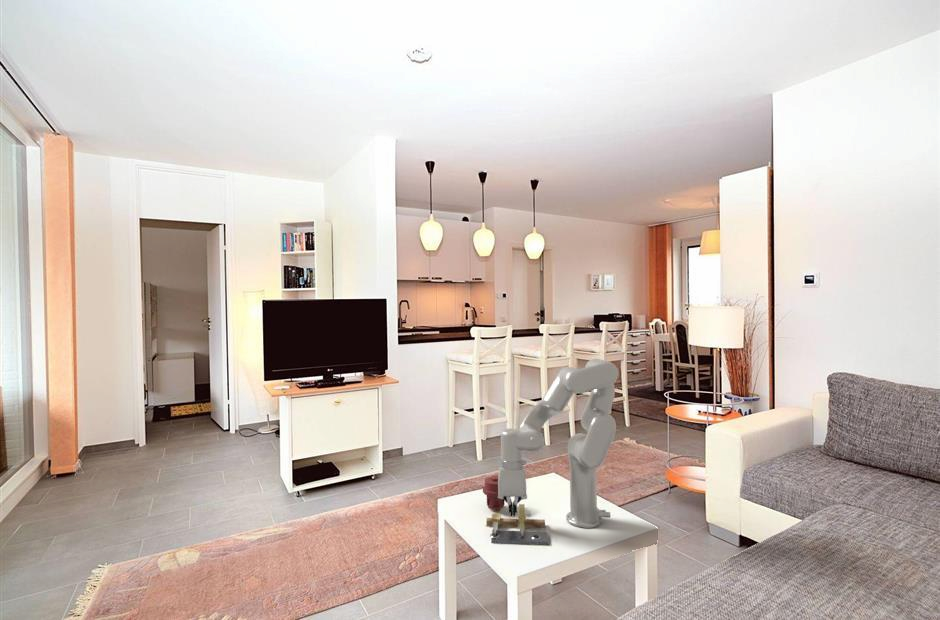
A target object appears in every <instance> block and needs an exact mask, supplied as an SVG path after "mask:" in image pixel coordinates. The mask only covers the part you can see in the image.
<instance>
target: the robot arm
mask: <svg viewBox="0 0 940 620" xmlns="http://www.w3.org/2000/svg"><path fill="white" fill-rule="evenodd" d="M618 378H619V369H618V367H617V366H616V364H614V363H612V362H611V361H607V360H604V359H599V358H593V359H589V360H588V361H587V362H586V364H585V367H583V368H578V369H577V368H575V367H571V366H570V367H569V366H566V367H563V368H562V369H560V370H559V372H558V374H556V376H555V378H554V379H553V382H552V383H551V385H550V386H549V387H548V389H547V390H546V393H545V394H544V395H543V397H542V399H541V400H539V402H537V403H536V405H535V406H534V407H533V408H532V409H530V411H529V412H528V414H527V415H526V416H525V418H524V419H523V421H522V423H520V427H519V429H517V428H505V429H503V430H502V431H501V432H500V457H501V458H500V459H501V461H500V464H501V465H499V468H498V475H497V476H498V498H500V499H504V502H506V503H507V505H508V513H509V514H510V517H516V514H517V513H518V505H519V504H520V502H521V501H523V500H527V499H528V494H527V479H526V477H527V475H526V470H525V466H526V465H527V460H524V459H523V452H522V451H525V452H538V451H540V450H542V449H543V447H544V446H545V438H544V435H543V434H542V433H541V432H540V431H541V429H542V428H543V427H544V426H545V424H546V422H547V421H549V420H550V419H551V418H552V417H556V416H558V415H560V414H561V413H563V411H564V410H565V408H566V407H567V405H568V403H569V402H570V401H571V399H572V397H573V395H574V394H584V393H588V392H590V395H589V397H588V399H587V402H586V405H585V407H584V410H583V412H582V415H581V418H580V425H581V426H582V428H583V429H584V430H585V431H586V432H587V433H586V434H585V433H581V432H580V433H579V432H578V433H576V434H573V435H572V436H571V437H570V438H569V439H568V441H567V454H568V455H567V456H568V463H569V464H568V465H569V491H570V492H569V494H570V495H569V497H570V498H569V499H570V500H569V501H570V504H569V505H570V511H569V512H567V514H566V516H565V517H566V518H565V519H566V521H567V522H568V523H569V524H570V525H572V526H575V527H578V528H584V529H585V528H586V529H592V528H596V527H598V526H600V525H601V524H602V518H607V519H608V518H609V519H610V518H612V517H611V516H612V515H611V512H610V511H606V510H607V509H599V508H598V502H597V501H598V500H597V499H598V497H597V496H598V493H597V468H599V467H600V466H601V465H603V464H604V462H605V460H606V458H607V455H608V453H609V451H610V448H611V446H612V444H613V441H614V438H615V436H616V431H617V423H616V420H615V418H614V417H613V416H612V415H611V414H610V412H611V409H612V406H613V403H614V400H615V397H616V396H615V395H616V390H615V389H616V388H615V383H616V381H617V380H618ZM511 497H514V499H513V501H512V498H511Z"/></svg>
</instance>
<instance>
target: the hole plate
mask: <svg viewBox="0 0 940 620" xmlns="http://www.w3.org/2000/svg"><path fill="white" fill-rule="evenodd" d="M489 537H491V540H490V541H491V544H508V545H509V544H515V545H535V546H536V545H537V546H538V545H539V546H550V545H549V535H548V531H532V530H531V531H527V530H526V531H525V530H524V534H523V537H522V536H521V534H520V530H503V529H502V530H501V529H500V530H499V529H497V533H496V536H495V535H493V529H492V532H491V533H490V534H489Z"/></svg>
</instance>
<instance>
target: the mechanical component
mask: <svg viewBox="0 0 940 620" xmlns="http://www.w3.org/2000/svg"><path fill="white" fill-rule="evenodd" d="M498 476H499V475H491V476H488V477H486V478H484V485H483V487H482V492H483V494H484V495H485V496H486V506H487V508H488V509H491V510H493V512H494V513H495V512H496V513H497V512H499V511H500V509H502V508H504V506H505V500H504V499H500V498H498Z"/></svg>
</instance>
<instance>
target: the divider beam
mask: <svg viewBox="0 0 940 620" xmlns="http://www.w3.org/2000/svg"><path fill="white" fill-rule="evenodd" d="M501 516H502V515H501V513H497V512H496V513H495V512H494V513H492V515H491V517H486V524H485V525H486V527H491V528H492V530H493V535H495V536H496V533H497V530H499V529H498V528H501V527H502V528H518V518H507V517H506V518H503V517H501ZM545 521H546V519H540V518H539V519H537V518H535V519H534V518H530V519H529V518H526V528H525V529H529V528H531V529H546V522H545Z"/></svg>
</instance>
